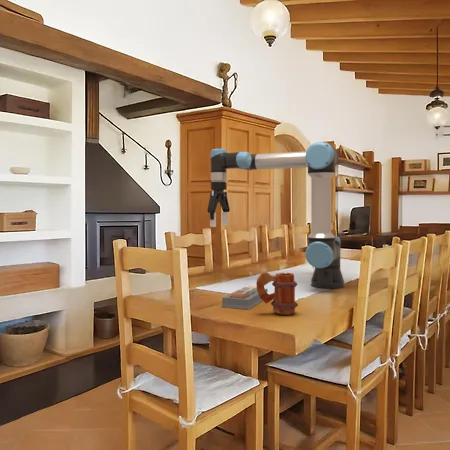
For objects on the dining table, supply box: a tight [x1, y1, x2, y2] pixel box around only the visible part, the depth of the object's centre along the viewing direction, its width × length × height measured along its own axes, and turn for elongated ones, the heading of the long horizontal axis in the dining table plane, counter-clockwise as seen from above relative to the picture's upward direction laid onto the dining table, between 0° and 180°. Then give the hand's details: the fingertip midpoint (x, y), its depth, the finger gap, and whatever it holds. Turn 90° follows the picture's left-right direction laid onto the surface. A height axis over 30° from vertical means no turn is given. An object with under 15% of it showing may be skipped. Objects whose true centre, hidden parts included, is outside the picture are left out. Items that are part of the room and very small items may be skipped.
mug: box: [255, 271, 299, 316], centre depth 162 cm, size 15×8×15 cm, turn 92°
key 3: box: [230, 290, 248, 299], centre depth 175 cm, size 5×5×3 cm
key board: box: [221, 286, 268, 310], centre depth 181 cm, size 11×22×4 cm, turn 156°
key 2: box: [237, 287, 254, 295], centre depth 181 cm, size 5×5×3 cm
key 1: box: [243, 284, 258, 292], centre depth 186 cm, size 5×5×3 cm
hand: (219, 226), depth 220 cm, fingers open, 13 cm apart
